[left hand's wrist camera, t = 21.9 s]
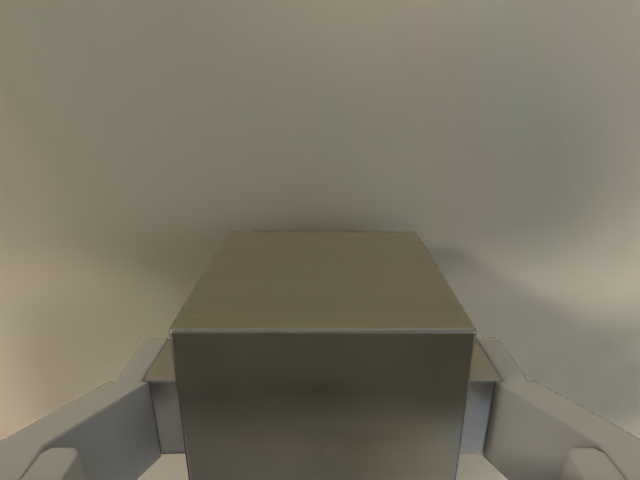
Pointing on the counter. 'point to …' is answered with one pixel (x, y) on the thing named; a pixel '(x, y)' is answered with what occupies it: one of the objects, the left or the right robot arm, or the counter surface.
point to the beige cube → (322, 360)
